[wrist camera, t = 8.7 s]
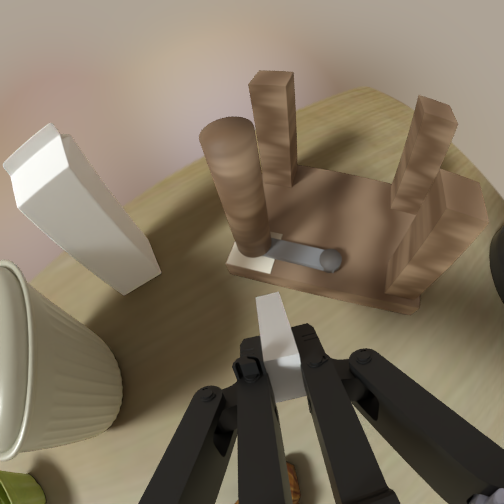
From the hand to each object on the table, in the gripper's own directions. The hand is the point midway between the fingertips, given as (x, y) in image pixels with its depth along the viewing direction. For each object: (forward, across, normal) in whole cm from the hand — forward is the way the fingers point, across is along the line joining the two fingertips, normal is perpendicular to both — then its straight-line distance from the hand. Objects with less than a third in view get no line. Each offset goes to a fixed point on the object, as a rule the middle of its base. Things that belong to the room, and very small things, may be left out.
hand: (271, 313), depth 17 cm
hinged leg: (+11, +3, 0) cm, 12 cm away
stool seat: (+15, +10, 0) cm, 18 cm away
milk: (+17, -16, +1) cm, 23 cm away
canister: (+6, -24, -9) cm, 27 cm away
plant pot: (-8, -42, -23) cm, 49 cm away
